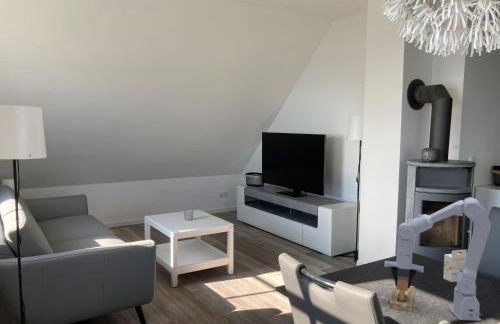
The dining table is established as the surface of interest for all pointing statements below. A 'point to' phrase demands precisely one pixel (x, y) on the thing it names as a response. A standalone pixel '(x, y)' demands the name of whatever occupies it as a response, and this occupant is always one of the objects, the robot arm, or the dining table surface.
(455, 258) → the ink cartridge box
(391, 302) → the rail
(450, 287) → the dining table surface
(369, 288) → the dining table surface
